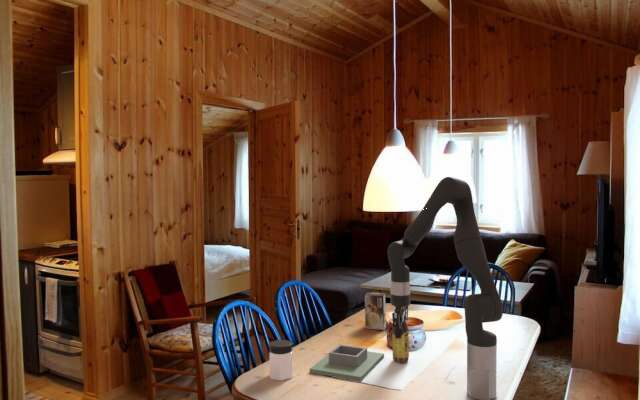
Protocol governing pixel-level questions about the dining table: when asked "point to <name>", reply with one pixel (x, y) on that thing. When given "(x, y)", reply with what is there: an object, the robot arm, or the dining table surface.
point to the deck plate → (347, 363)
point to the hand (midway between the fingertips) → (400, 335)
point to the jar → (280, 360)
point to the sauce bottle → (401, 343)
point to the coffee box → (375, 311)
